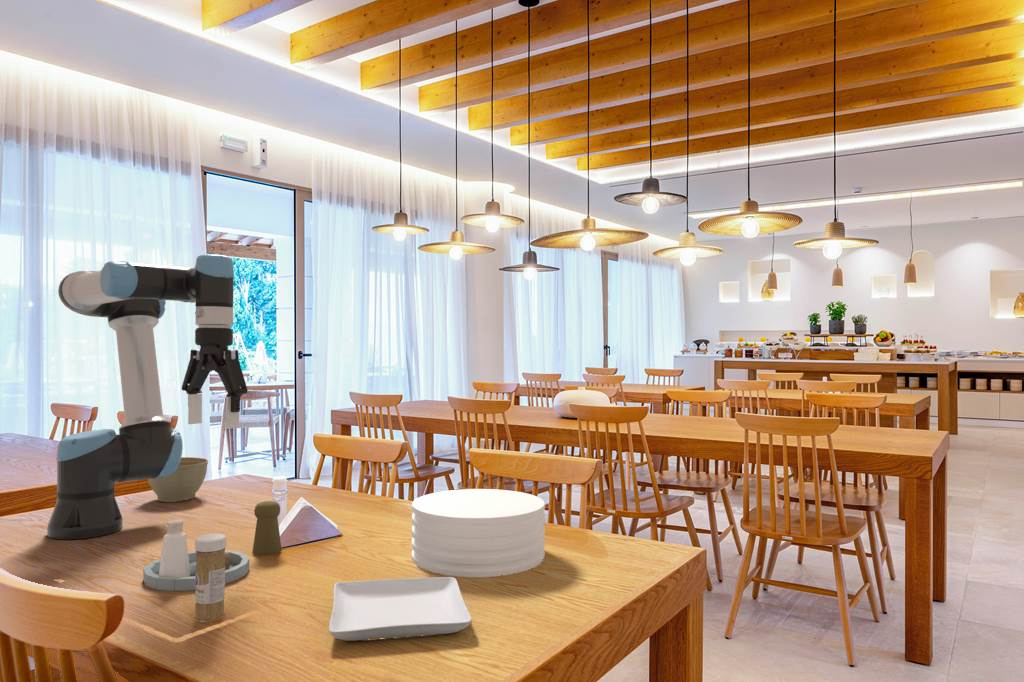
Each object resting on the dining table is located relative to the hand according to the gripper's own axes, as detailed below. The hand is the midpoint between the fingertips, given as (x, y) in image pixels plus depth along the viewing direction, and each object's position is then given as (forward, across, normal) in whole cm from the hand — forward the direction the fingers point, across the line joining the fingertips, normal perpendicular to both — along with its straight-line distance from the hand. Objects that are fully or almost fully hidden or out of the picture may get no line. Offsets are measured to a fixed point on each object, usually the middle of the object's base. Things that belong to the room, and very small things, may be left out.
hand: (213, 425), depth 151 cm
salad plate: (+27, +59, -5) cm, 65 cm away
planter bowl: (+27, -54, +24) cm, 65 cm away
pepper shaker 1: (+26, +14, -16) cm, 34 cm away
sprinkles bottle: (+27, +35, -23) cm, 50 cm away
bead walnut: (+26, +18, -10) cm, 34 cm away
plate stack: (+27, +49, +30) cm, 64 cm away
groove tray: (+27, +14, -12) cm, 32 cm away
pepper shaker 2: (+27, +12, +5) cm, 30 cm away
